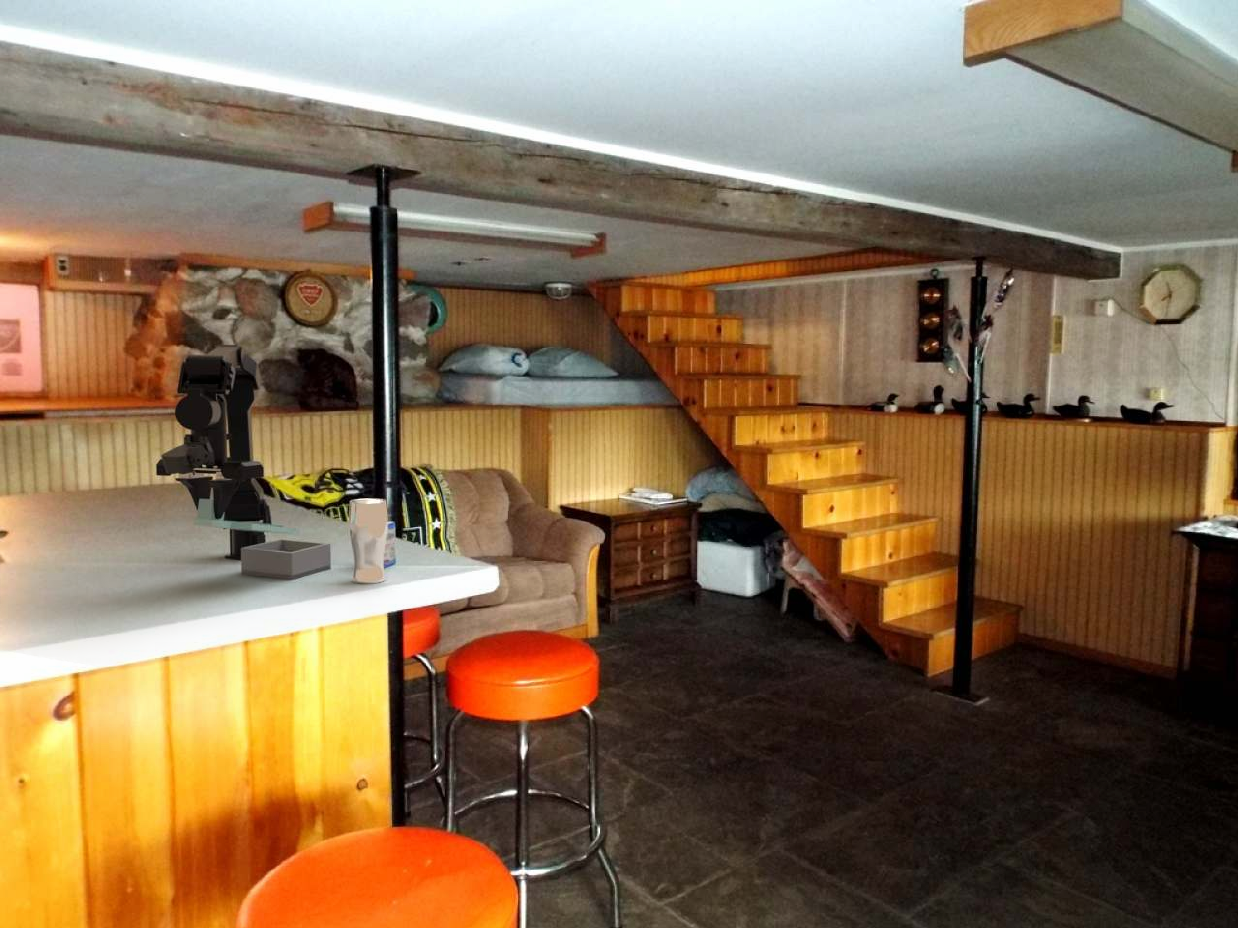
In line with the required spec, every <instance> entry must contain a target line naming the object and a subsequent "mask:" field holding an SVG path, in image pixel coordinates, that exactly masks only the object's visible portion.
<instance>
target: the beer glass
mask: <svg viewBox="0 0 1238 928" xmlns="http://www.w3.org/2000/svg"><path fill="white" fill-rule="evenodd" d="M348 512H349V513H348V532H349V539H350V543H351V549H352V553H353V571H352V578H351V581H352V582H353V583H355V584H360V585H363V584H364V585H368V584H369V585H370V584H371V585H372V584H378V583H379V584H380V583H383V582H385V581H386V579H387V576H386V572H385V568H384V562H383V560H384V550H385V545H386V539H387V531H388V522H389V521H388V520H389V517H388V506H387V499H385V498H370V497H369V498H357V499H356V498H355V499H351V500H350V501H349V511H348Z"/></svg>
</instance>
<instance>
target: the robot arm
mask: <svg viewBox="0 0 1238 928" xmlns="http://www.w3.org/2000/svg"><path fill="white" fill-rule="evenodd" d="M261 379H262V378H261V372H260V369H259V365H258V363H257V361H255V360H254V359H253V358H252V357H250V356H249V355H248V354H246V352H245V348H244V346H241V345H239V344H218V345H215V346H214V347H213V349H212V350H211V351H208V353H206V354H188V355H186V357H185V360H183V361H182V362H181V367H180V372H179V377H178V384H177V390H176V392H177V394H178V395H180V394H181V395H182V394H183V395H184V394H185V395H186V396H184V397H182V398H181V399H180V400H178V402H177V403H176V406H175V409H174V415H175V419H176V422H178V423H179V425H180V426H182V427H183V428H185V429H187V430H190V433H187V434H184V437H183V443H182V444H181V445H178V446H176V447H173V448H172V449H170V450H168V451H166V452H163V454H161V459H159V460H158V462H157V463H156V464H155V469H156V471H155V473H156V474H155V476H159V477H160V476H162V477H171V476H172V475H175V474H177V475H178V477H175V478H174V480H175V481H176V482H179V483H181V484H182V485H183V486H184V487H186V488H187V490H188V492H189V494H190V496H191V498H192V501H193V504H194V506H195V508H196V510H197V512H198V506H199V499H211V493H212V495H213V501H214V513H215V518H216V519H221V518H222V516H223V514H224V520H223V521H236V522H250V523H264V524H270V525H273V524H272V513H271V507H270V505H269V504H268V502H267V501H268V500H267V499H266V498H265V496H264V495H265V494H264V489H263V488H262V486H261V485H260V483H259V482H258V481H257V479H258V478H265V473H264V472H265V471H264V470H265V469H264V465H263V463H261V462H260V461H258V460H254V449H253V446H254V445H253V430H252V412H251V411H252V410H251V408H252V407H253V405H254V404H255V402H256V400H257V398H258V397H259V390H261V386H262V385H261V383H262V381H261ZM228 451H229V456H228ZM206 474H208V476H207V475H206ZM211 475H215V479H213V478H214V476H211ZM222 529H223V530H226V529H225V528H222ZM266 539H267V538H266V534H265V532H258V531H245V530H235V529H229V551H230V552H229V553H227V554H225V555H224V558H229V559H234V560H235V559H238V560H241V548H244V547H248V546H252V545H257V544H261V543H266V542H267V541H266Z"/></svg>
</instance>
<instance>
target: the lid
mask: <svg viewBox="0 0 1238 928" xmlns="http://www.w3.org/2000/svg"><path fill="white" fill-rule="evenodd" d="M223 520H224V514H223V516H222V518H221V519H216V518H215V513H214V501H213V499H211V498H210V499H199V506H198V511H197V515H196V518H193V523H192V524H193V526H198V527H199V526H200V527H209V528H217V529H223V528H225V529H224V530H230V529H235V530H245V531H258V532H264V533H272V534H287V535H298V533H299V528H291V527H286V526H285V525H279V524H272V525H270V524H264V523H250V522H236V521H223Z"/></svg>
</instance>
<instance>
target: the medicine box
mask: <svg viewBox="0 0 1238 928" xmlns="http://www.w3.org/2000/svg"><path fill="white" fill-rule="evenodd" d="M396 548H397V546H396V523H395V521H388V531H387V539H386V545H385V550H384V560H383V562H384V569H386V568H388V567H391V566H392V565H395V564H396V561H397V559H396V556H397V555H396V551H397V549H396ZM387 566H388V567H387ZM385 567H386V568H385Z"/></svg>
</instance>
